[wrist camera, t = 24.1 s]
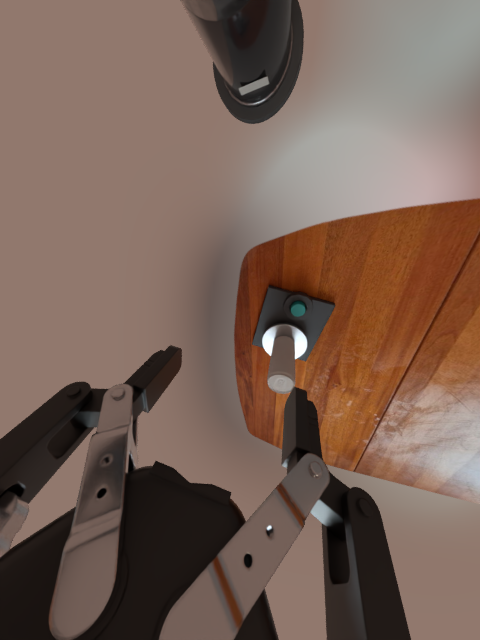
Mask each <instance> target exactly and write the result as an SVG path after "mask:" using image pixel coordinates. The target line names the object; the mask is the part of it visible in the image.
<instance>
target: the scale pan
mask: <svg viewBox="0 0 480 640" xmlns="http://www.w3.org/2000/svg"><path fill="white" fill-rule="evenodd" d="M280 336H287V337H290V338H291V339H292V340H293V341H294V343H295V359H296V358H298V357H300V356H301V355H302V354H303V353H304V352H305V351H306V349H307V337H306V335H305V333H304V332H303V331H302V330H301V329H300V328H299V327H297V326H295V325H293V324H290V323H278V324H274V325H272V326H270V327H269V328H268V329H267V330H266V331H265V333H264V335H263V339H262V344H263V347H264V349H265V350H266V352H267V353H268V354H269V355H271V354H272V348H273V342H274V340H275V339H276V338H278V337H280Z"/></svg>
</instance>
